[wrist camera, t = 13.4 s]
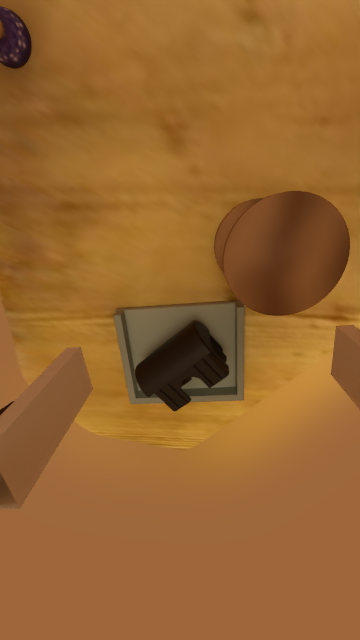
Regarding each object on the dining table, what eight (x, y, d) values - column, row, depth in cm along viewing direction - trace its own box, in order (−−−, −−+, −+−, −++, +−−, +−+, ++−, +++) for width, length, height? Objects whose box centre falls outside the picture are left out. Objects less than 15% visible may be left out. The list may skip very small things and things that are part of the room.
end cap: (193, 310, 34) (193, 332, 28) (227, 347, 36) (234, 375, 30) (140, 353, 37) (129, 382, 31) (173, 385, 39) (169, 418, 32)
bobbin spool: (302, 194, 29) (359, 184, 19) (295, 281, 33) (340, 312, 23) (212, 203, 30) (222, 197, 20) (215, 287, 34) (225, 318, 24)
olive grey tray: (243, 300, 34) (247, 307, 32) (242, 387, 39) (245, 400, 37) (117, 308, 36) (111, 315, 33) (132, 392, 41) (128, 404, 38)
